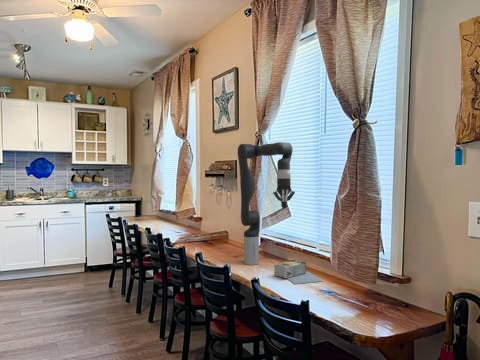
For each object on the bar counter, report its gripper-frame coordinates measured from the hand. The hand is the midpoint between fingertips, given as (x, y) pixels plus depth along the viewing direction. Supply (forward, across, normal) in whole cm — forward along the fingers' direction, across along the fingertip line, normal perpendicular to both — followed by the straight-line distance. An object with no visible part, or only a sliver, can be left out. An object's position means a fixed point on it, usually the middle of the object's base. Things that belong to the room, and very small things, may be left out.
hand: (284, 208), depth 206 cm
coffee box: (+33, +6, +8) cm, 35 cm away
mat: (+37, -5, +12) cm, 39 cm away
